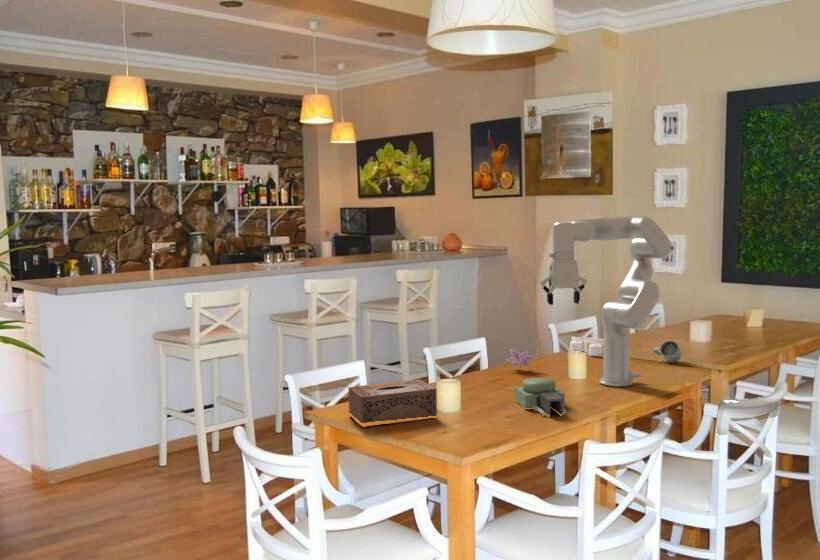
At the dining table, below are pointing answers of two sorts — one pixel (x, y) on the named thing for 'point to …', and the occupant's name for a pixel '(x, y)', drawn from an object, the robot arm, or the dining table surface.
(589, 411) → the dining table surface
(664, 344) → the ceramic mug
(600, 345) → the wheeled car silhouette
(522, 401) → the mower deck
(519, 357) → the lily
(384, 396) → the tissue box cover
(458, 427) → the dining table surface
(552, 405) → the chute
